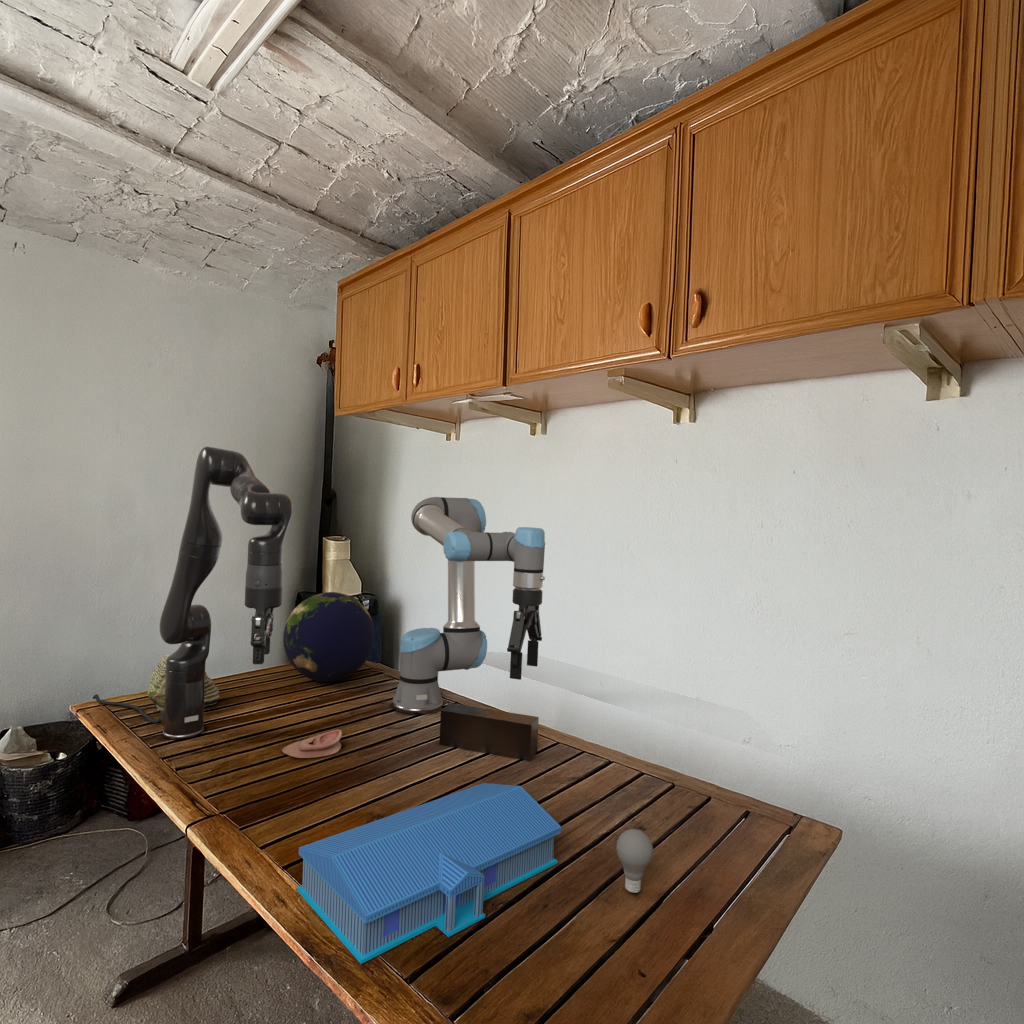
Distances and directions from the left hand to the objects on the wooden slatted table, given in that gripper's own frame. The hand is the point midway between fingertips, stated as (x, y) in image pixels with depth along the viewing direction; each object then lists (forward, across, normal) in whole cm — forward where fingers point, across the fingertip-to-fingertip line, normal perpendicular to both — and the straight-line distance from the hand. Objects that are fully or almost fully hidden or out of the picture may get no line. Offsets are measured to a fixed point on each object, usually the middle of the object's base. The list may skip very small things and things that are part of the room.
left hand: (261, 658), depth 138 cm
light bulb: (+28, -50, -66) cm, 87 cm away
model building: (+28, -41, -35) cm, 61 cm away
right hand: (+6, +8, -62) cm, 63 cm away
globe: (+28, +78, -11) cm, 83 cm away
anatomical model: (+28, +17, -10) cm, 34 cm away
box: (+28, +13, -54) cm, 62 cm away
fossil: (+28, +55, +28) cm, 68 cm away
